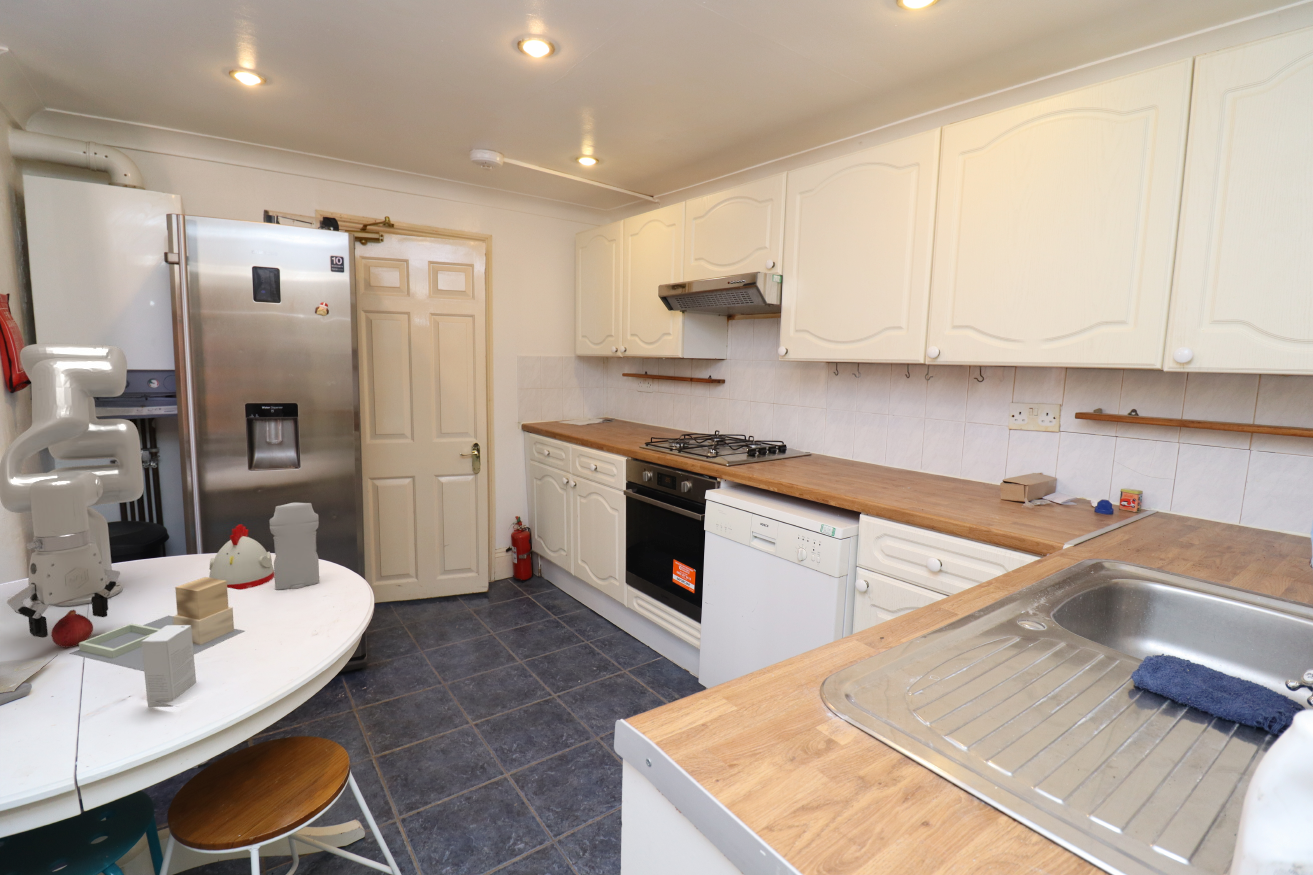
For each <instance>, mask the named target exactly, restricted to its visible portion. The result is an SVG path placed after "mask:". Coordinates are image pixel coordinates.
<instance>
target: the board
mask: <svg viewBox="0 0 1313 875" xmlns="http://www.w3.org/2000/svg"><path fill="white" fill-rule="evenodd" d="M173 616H174V615H165V616H164V617H161V618H158V619H155V620H153V621H150V622H148V623H146V624H142V625H143V626H147V627H152V628H157V629H162V628H163V627H165V626H167V625H174V623H173ZM244 632H246V630H242V629H239V628H234V630H233V631H231V632H229V633H226V634H224V635H222V636H220V637H217V638H215V639H213V640H211V641H209V642H206V643H204V644H202V645H198V644H194V643H193V652H194V655H196V654H199V653H201V652H203V651H205V650H207V649H210V648H211V647H214V646H216V645H219V644H221V643H222V642H225V641H228V640H229V639H231V638H233V637H236V636H238V635H240V634H242V633H244ZM145 636H147V635H144V634H140V633H135V632H129V633H127V634H124V635H121V636H119V637H116V638H114V639H111V640H108V641H106V642H103V643H101V644H98V645H99V646H104V647H108V648H112V649H115V648H117V647H120V646H122V645H125V644H127V643H130V642H132V641H135V640H137V639H140V638H142V637H145ZM69 654H70V655H74V656H77V657H82V658H85V659H86V658H87V659H89V660H94V661H99V662H103V663H107V664H110V665H117V666H120V667H124V668H127V669H133V670H136V671H140V672H144V664H143V654H142V647H139V648H137V649H134V650H132V651H130V652H127V653H125V654H122V655H120V656H117V657H115V658H110V657H106V656H101V655H97V654H93V653H89V652H84V651H80V650H79V649H77V650H74V651H71V652H69Z"/></svg>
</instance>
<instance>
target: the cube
mask: <svg viewBox="0 0 1313 875" xmlns="http://www.w3.org/2000/svg"><path fill="white" fill-rule="evenodd" d="M174 588H175V599H176V600H175V601H176V602H175V603H176V615H178V616H183V617H188V618H193V619H198V620H200V619H203V618H205V617H208V616H210V615H213V614H215V613H218V612H220V611H223V610H225V609H228V608H229V607H230V606H229V593H228V588H227V581H225V580H220V579H214V578H209V576H208V577H207V576H205V577H201V578H198V579H196V580H192V581H190V582H186V583H184V584H181V585H177V586H175V587H174Z"/></svg>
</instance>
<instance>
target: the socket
mask: <svg viewBox="0 0 1313 875" xmlns="http://www.w3.org/2000/svg"><path fill="white" fill-rule="evenodd" d="M143 625H144V624H137V623H133V622H131V623H128V624H127V625H124V626H121V627H119V628H116V629H113V630H110V631H108V632H104V633H102V634H100V635H97V636H94V637H90V638H88V639H87V640H85V641H83V642H80V643H79V645H78V650H80V651H84V652H89V653H93V654H97V655H101V656H106V657H110V658H115V657H117V656H120V655H122V654H125V653H127V652H130V651H132V650H134V649H137V648H139V647H142V644H141V641H143V640H144V639H146V638H147V637H149V636H151V635H152V634H154V633H155V632H157V631H159V630H160V629H157V628H152V627H147V626H143ZM129 632H135V633H140V634H144V635H147V636H145V637H142V638H140V639H137V640H135V641H132V642H130V643H127V644H125V645H122V646H120V647H117V648H115V649H112V648H108V647H104V646H99V645H98V644H101V643H103V642H106V641H108V640H111V639H114V638H116V637H119V636H121V635H124V634H127V633H129Z"/></svg>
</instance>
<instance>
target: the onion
mask: <svg viewBox="0 0 1313 875" xmlns="http://www.w3.org/2000/svg"><path fill="white" fill-rule="evenodd" d="M93 631H94V625H93V623H92V621H91V620H90V619H89V618H88V617H86V616H84V615H83V614H80V613H79V614H78V613H77V610H76V609H71V610H69V611H68V612H67V613H66V614H65V615H64V616H62V617H61V618H60V619H59V620H57V621H56V623H55V624H54V625H53V627H52V630H51V632H50V633H51V634H50V636H51V639H52V641H53V643H54V644H55V645H57V646H58V647H60V648H61V647H62V648H71V647H75V646H79V643H80V642H83V641H85V640H88V639H90V638H91V635H92V633H93Z"/></svg>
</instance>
